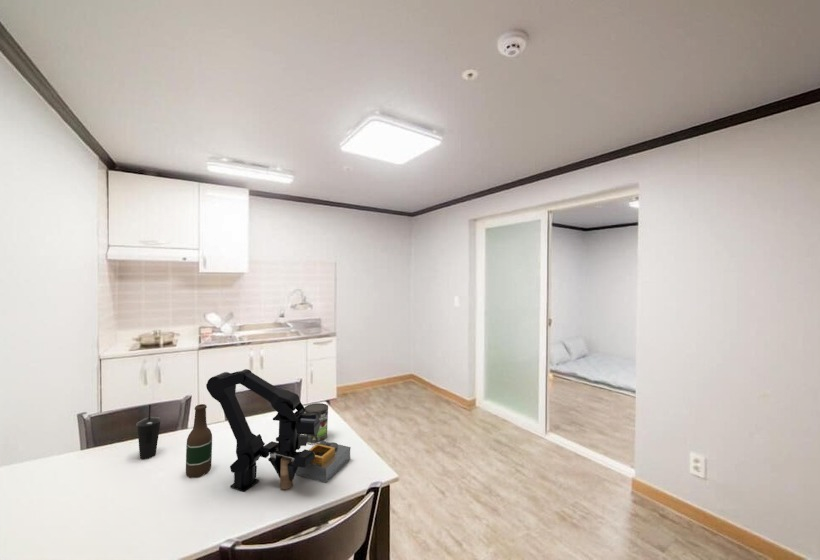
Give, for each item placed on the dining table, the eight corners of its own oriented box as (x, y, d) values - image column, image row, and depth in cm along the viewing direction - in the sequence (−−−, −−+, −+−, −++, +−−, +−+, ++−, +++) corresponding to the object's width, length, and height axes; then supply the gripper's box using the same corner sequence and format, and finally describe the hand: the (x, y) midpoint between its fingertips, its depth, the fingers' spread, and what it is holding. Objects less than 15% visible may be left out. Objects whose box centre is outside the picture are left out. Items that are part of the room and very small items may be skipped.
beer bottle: (198, 480, 112) (200, 410, 112) (179, 476, 113) (182, 408, 113) (216, 467, 119) (218, 402, 120) (198, 464, 121) (200, 400, 121)
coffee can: (332, 438, 144) (333, 406, 144) (312, 447, 136) (313, 413, 136) (317, 431, 150) (318, 401, 150) (298, 439, 142) (299, 407, 142)
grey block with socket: (325, 483, 111) (326, 461, 111) (295, 474, 116) (296, 453, 116) (350, 459, 126) (350, 440, 126) (322, 453, 131) (322, 434, 131)
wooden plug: (286, 490, 106) (287, 462, 106) (277, 487, 107) (278, 460, 108) (295, 483, 110) (295, 456, 110) (285, 480, 111) (286, 454, 111)
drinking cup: (165, 451, 129) (167, 401, 130) (148, 462, 122) (149, 409, 122) (147, 450, 130) (149, 400, 130) (129, 460, 122) (131, 408, 123)
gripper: (325, 427, 113) (324, 472, 113) (282, 419, 120) (281, 461, 119) (304, 442, 103) (303, 491, 103) (259, 431, 109) (258, 477, 109)
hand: (286, 479), depth 109 cm, fingers closed on wooden plug, 4 cm apart
